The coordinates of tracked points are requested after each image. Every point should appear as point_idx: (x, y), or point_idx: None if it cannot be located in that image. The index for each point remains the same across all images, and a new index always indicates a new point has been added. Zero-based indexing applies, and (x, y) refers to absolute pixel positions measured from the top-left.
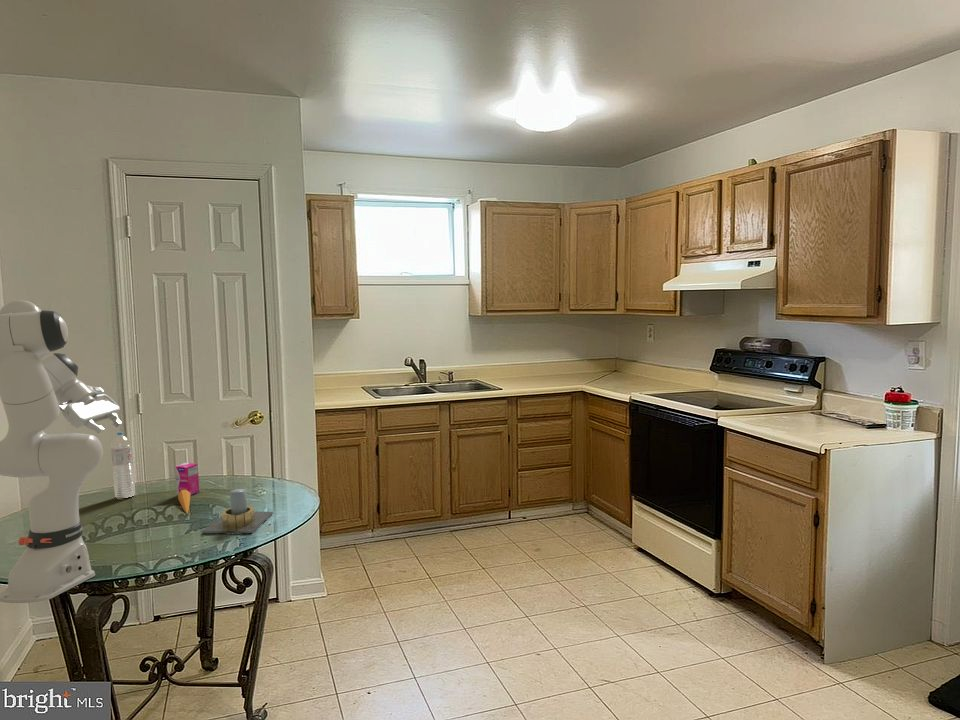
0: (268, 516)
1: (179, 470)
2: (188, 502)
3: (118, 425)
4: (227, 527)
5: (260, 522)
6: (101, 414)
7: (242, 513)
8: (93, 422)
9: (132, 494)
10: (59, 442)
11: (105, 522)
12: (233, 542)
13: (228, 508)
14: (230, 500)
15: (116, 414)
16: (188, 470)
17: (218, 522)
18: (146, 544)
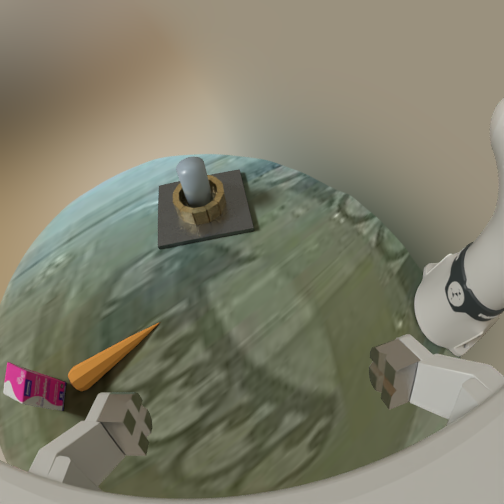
0: (176, 182)
1: (29, 393)
2: (113, 346)
3: (140, 405)
4: (231, 202)
5: None
6: (309, 490)
7: (211, 179)
8: (463, 386)
9: None
10: None
11: (226, 465)
12: (273, 176)
13: (187, 211)
14: (200, 183)
15: (38, 455)
16: (29, 371)
17: (210, 227)
18: (317, 287)
